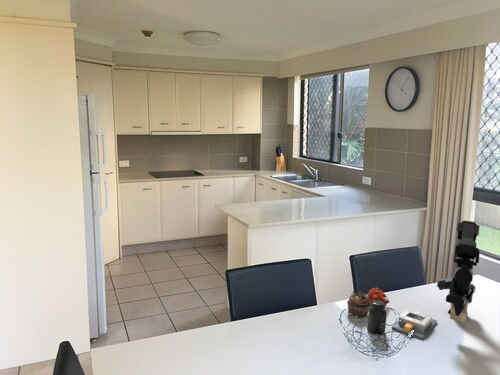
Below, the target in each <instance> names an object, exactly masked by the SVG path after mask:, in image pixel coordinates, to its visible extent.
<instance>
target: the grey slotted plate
mask: <svg viewBox="0 0 500 375" xmlns="http://www.w3.org/2000/svg"><path fill="white" fill-rule="evenodd" d="M401 319H402V320H401ZM399 320H401V321H399ZM398 321H399V322H398V323H397V324H396V326H395V327H394V326H393V325H392V327H391V330H393V329H394V330H393V331H396V330H397V332H399V331H401V332H400V333H402V332H403V334H406V335H408V333H410V332H411V331H412V330H414V332H413V336H412V337H414V338H417V339H420V340H424V339H425V338H426V336H427V335H428V334H429V333H430V332H431V331H432V330H433V328H434V327H435V326H436V324H437V323H438V320H437V319H434V318H433V316H432V315H429V314H427V313H423V312H419V311H416V310H413V309H409V308H407V309H406V310H405V311H404V312H402V313H401V314H400V315H399V316H398Z"/></svg>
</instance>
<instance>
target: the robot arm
mask: <svg viewBox="0 0 500 375" xmlns="http://www.w3.org/2000/svg"><path fill="white" fill-rule="evenodd" d="M456 226H457V227H456V234H457V239H458V240H457V241H458V242H457V244H455V247H454V248H455V250H454V255H453V256H454V257H453V263H455V270H454V276H453V277H451V278H450V277H449V278H447V277H446V278H440V279H438V280H437V281H436V284H437V285H436V288H438V290H439V291H443V290H449V291H448V293H447V295H446V296H445V302H447V303H450V306H451V305H452V304H454V309H455V314H456V316H459V315H460V313H461V312H462V310H463V309H464V307H465V305H466V304H467V302H468V305H469V304H471V303H472V301H473V297H474V296H473V295H474V294H475V292H476V286H475V284H473V283H472V282H473V280H474V279H473V278H474V275H473V274H474V272H473V269H474V267H477V266H478V264H479V263H480V249H479V247H477V242H476V241H477V237H479V233H480V225H478V224H477V222H475V221H472V220H471V221H470V220H462V221H461V222H457V225H456ZM466 300H468V301H466ZM450 313H451V307H450V308H449V309H448V311H447V314H450Z"/></svg>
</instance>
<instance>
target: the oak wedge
mask: <svg viewBox="0 0 500 375" xmlns="http://www.w3.org/2000/svg"><path fill="white" fill-rule="evenodd" d="M466 301H468V300H466ZM468 305H469V303H468V302H467V304H466V305H465V307H464V309H463V310H462V312H461V313H460V315H459V316H456V314H455V309H454V304H452V305H451V304H450V308H451V313H449V314H450V315H449V319H450V320H454V321H457V322H460V323H463V324H464V323H465V322H466V320H467V314H468Z"/></svg>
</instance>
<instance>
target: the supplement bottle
mask: <svg viewBox="0 0 500 375" xmlns="http://www.w3.org/2000/svg"><path fill="white" fill-rule="evenodd" d="M387 317H388V312H387V310H386V306H385V303H384V302H383V301H380V300H374V301H373V302H372V304H371V306H370V308H369V311H368V315H367V325H366V326H367V327H366V328H367V329H366V330H367V331H368V332H369V333H370V334H373V335H375V334H377V336H381V335H384V334H385V333H386V327H387V326H386V325H387ZM383 333H384V334H383Z"/></svg>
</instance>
